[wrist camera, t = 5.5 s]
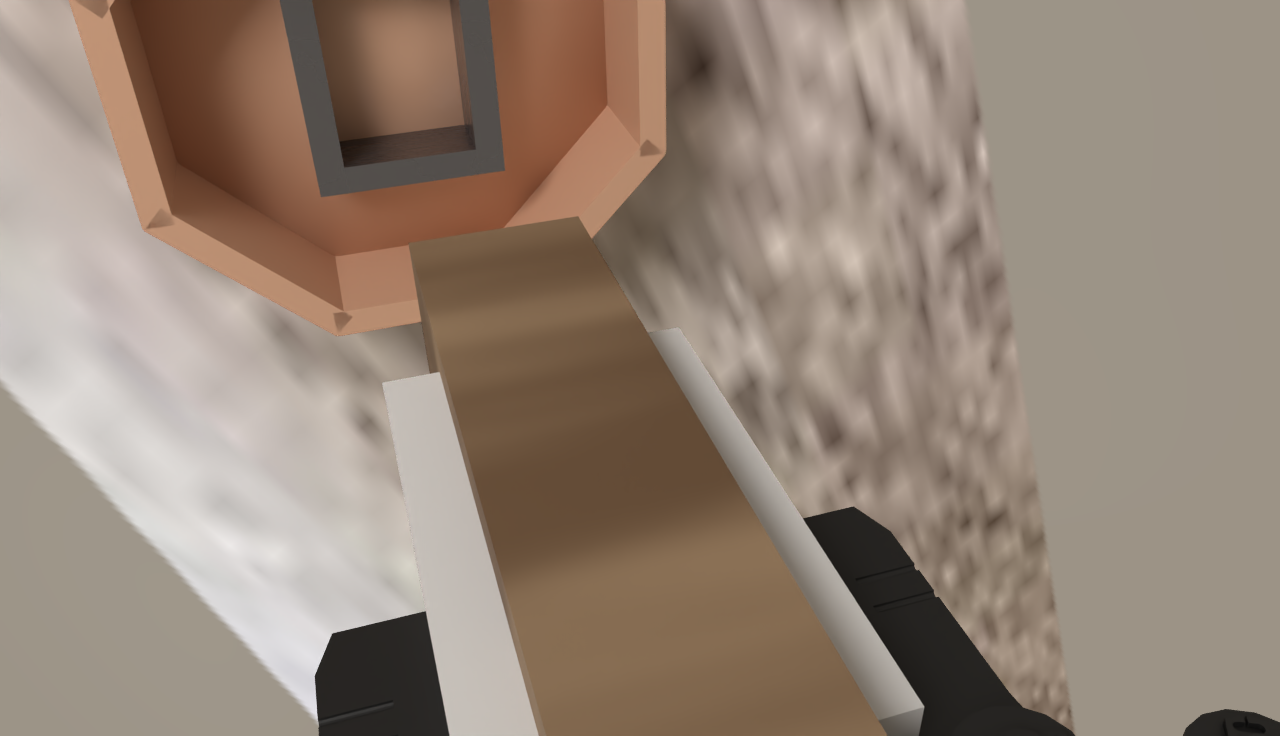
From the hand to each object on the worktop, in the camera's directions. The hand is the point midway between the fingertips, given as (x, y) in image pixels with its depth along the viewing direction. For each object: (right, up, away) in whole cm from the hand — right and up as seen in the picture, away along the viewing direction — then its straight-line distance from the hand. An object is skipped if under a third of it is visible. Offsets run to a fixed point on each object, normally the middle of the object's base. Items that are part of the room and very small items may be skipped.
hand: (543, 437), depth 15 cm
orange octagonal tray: (-6, +11, +17) cm, 21 cm away
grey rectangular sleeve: (-6, +11, +17) cm, 21 cm away
